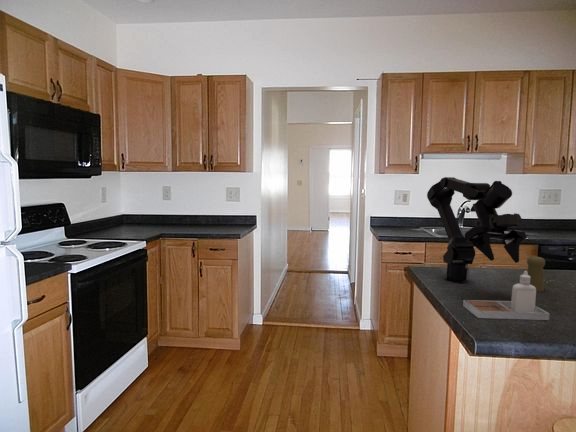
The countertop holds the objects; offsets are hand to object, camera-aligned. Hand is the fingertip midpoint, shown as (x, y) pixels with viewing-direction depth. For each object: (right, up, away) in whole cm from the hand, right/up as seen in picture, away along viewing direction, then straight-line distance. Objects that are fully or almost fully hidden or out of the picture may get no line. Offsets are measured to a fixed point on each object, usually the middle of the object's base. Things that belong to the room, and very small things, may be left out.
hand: (505, 261), depth 116 cm
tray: (-4, -13, -7) cm, 16 cm away
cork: (+19, -11, +16) cm, 27 cm away
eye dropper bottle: (+1, -14, -7) cm, 16 cm away
